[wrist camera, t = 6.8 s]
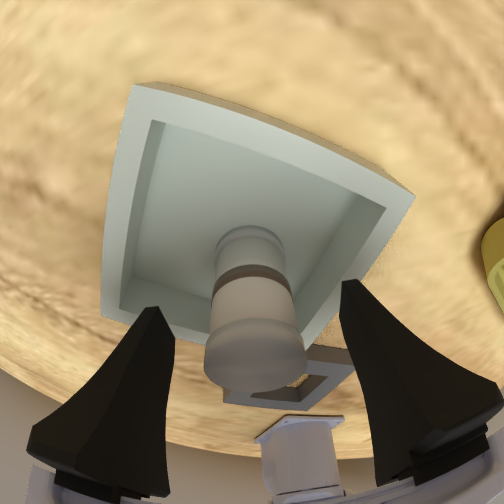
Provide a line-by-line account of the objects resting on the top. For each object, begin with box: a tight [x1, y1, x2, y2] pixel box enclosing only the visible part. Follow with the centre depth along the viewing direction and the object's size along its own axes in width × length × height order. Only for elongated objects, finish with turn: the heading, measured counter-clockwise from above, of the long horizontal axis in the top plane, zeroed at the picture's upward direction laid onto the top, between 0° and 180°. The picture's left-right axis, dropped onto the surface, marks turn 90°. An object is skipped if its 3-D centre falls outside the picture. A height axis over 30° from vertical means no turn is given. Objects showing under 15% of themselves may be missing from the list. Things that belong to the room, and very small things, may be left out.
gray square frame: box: [223, 344, 355, 411], centre depth 21 cm, size 8×8×2 cm
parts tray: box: [101, 82, 416, 351], centre depth 13 cm, size 11×11×3 cm
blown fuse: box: [204, 225, 307, 393], centre depth 12 cm, size 3×3×6 cm
